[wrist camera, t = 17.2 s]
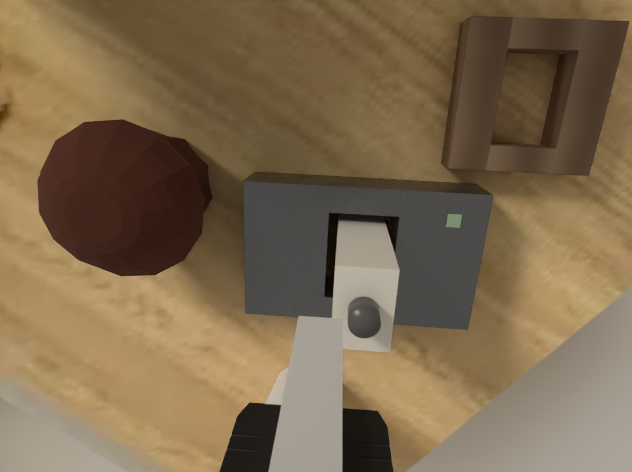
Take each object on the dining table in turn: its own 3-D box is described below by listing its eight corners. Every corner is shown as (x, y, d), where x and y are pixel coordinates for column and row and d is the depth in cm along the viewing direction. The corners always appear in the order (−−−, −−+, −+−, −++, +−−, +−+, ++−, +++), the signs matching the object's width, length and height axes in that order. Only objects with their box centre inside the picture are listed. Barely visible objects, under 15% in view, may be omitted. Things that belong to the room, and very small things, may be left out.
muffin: (111, 247, 37) (29, 298, 27) (80, 121, 33) (-26, 130, 24) (238, 242, 36) (199, 294, 26) (221, 111, 32) (169, 117, 23)
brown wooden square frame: (441, 163, 32) (448, 168, 30) (461, 22, 29) (471, 16, 26) (570, 170, 32) (588, 175, 29) (606, 27, 28) (629, 21, 26)
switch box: (255, 291, 37) (245, 314, 33) (255, 171, 33) (242, 181, 29) (455, 305, 36) (468, 331, 32) (476, 183, 32) (494, 195, 28)
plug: (335, 268, 36) (328, 363, 23) (339, 209, 34) (334, 276, 21) (376, 271, 35) (392, 368, 23) (382, 212, 34) (403, 281, 21)
